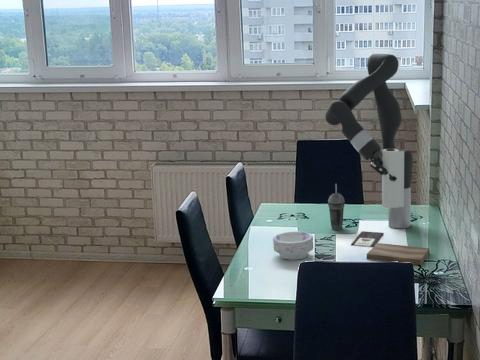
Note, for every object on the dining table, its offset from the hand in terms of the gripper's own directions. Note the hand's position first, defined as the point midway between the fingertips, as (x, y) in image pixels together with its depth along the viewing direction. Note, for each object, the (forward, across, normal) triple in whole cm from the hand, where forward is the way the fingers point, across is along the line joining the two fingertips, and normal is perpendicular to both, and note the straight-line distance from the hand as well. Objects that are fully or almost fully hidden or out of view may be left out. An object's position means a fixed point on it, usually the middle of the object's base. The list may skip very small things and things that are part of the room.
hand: (396, 179), depth 258 cm
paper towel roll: (+6, 0, +9) cm, 11 cm away
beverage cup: (-4, +23, +47) cm, 52 cm away
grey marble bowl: (-4, -17, +46) cm, 49 cm away
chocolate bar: (+9, +14, +34) cm, 38 cm away
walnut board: (+21, 0, +20) cm, 30 cm away
